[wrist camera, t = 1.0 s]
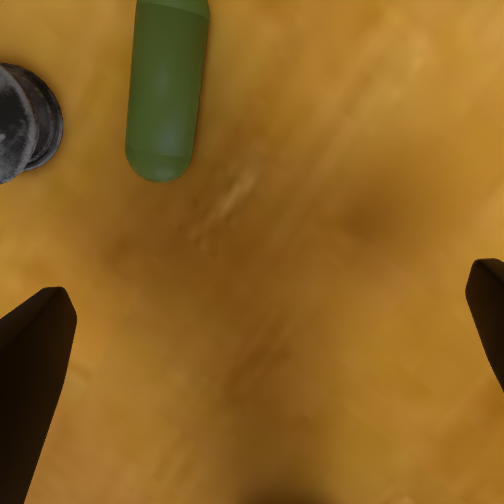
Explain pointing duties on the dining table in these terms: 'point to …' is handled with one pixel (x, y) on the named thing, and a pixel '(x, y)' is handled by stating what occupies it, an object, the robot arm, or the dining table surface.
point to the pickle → (165, 86)
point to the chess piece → (26, 121)
